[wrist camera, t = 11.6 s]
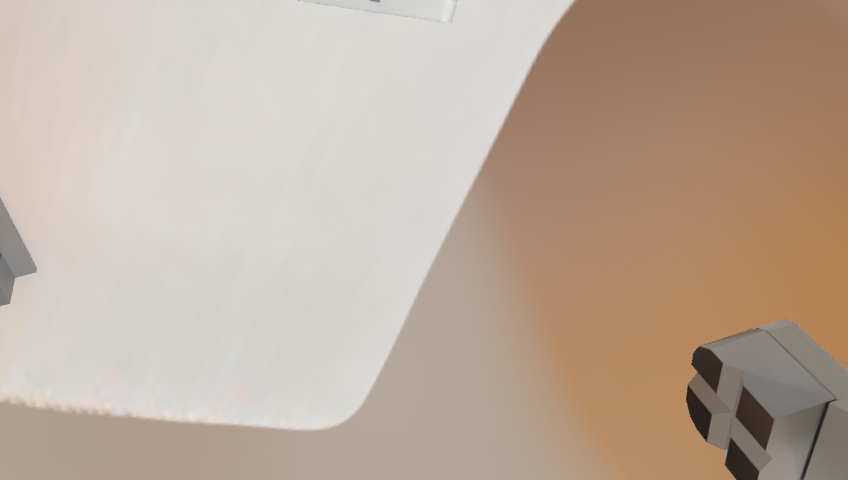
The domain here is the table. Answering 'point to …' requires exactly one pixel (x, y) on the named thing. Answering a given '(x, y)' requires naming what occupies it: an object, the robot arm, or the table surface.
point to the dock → (11, 256)
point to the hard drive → (400, 7)
